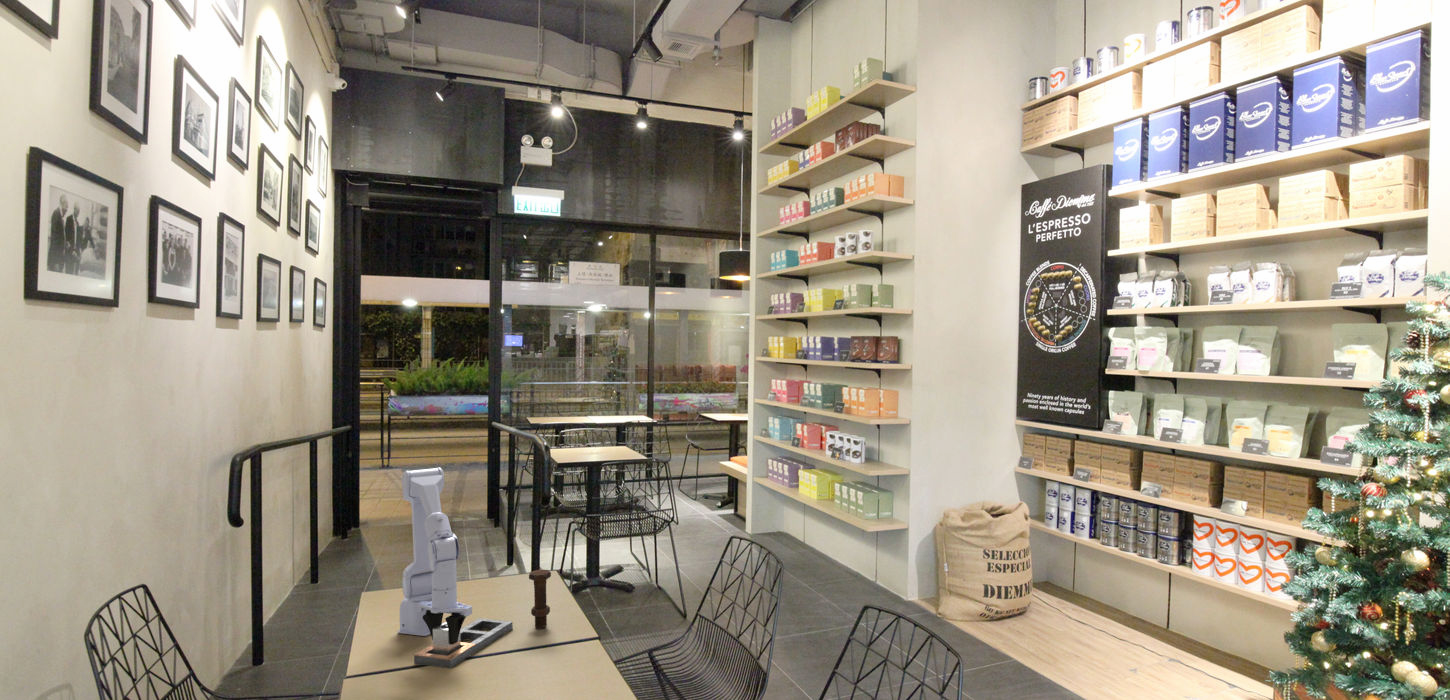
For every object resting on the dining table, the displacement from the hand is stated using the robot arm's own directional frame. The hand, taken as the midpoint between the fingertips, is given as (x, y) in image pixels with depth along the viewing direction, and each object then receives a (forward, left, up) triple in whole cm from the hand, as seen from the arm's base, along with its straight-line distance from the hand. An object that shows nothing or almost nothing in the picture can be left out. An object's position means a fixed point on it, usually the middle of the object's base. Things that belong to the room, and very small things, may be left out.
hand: (445, 642), depth 180 cm
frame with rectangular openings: (0, +8, -4) cm, 9 cm away
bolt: (+12, +24, -4) cm, 27 cm away
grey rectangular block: (0, 0, -3) cm, 3 cm away
